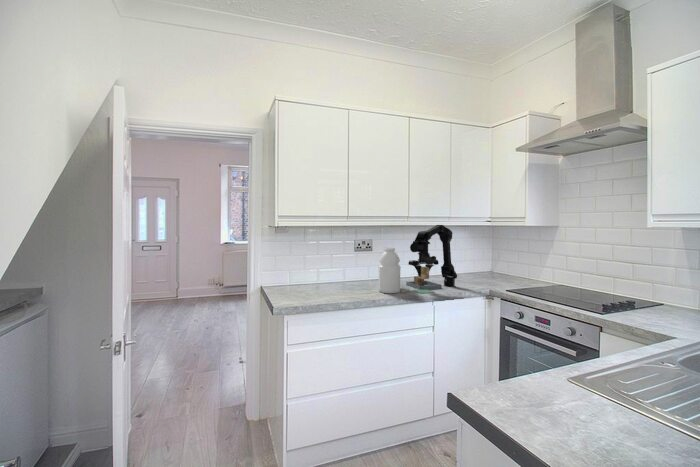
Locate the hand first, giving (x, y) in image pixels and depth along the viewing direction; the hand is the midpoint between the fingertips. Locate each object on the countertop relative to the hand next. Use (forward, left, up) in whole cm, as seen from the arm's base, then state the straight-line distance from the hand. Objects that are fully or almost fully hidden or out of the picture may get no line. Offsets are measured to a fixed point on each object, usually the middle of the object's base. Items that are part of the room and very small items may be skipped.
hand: (423, 276), depth 212 cm
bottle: (+19, -10, -11) cm, 24 cm away
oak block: (0, 0, -1) cm, 1 cm away
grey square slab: (-9, -14, -10) cm, 20 cm away
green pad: (0, 0, -10) cm, 10 cm away
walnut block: (-9, -20, -10) cm, 24 cm away
